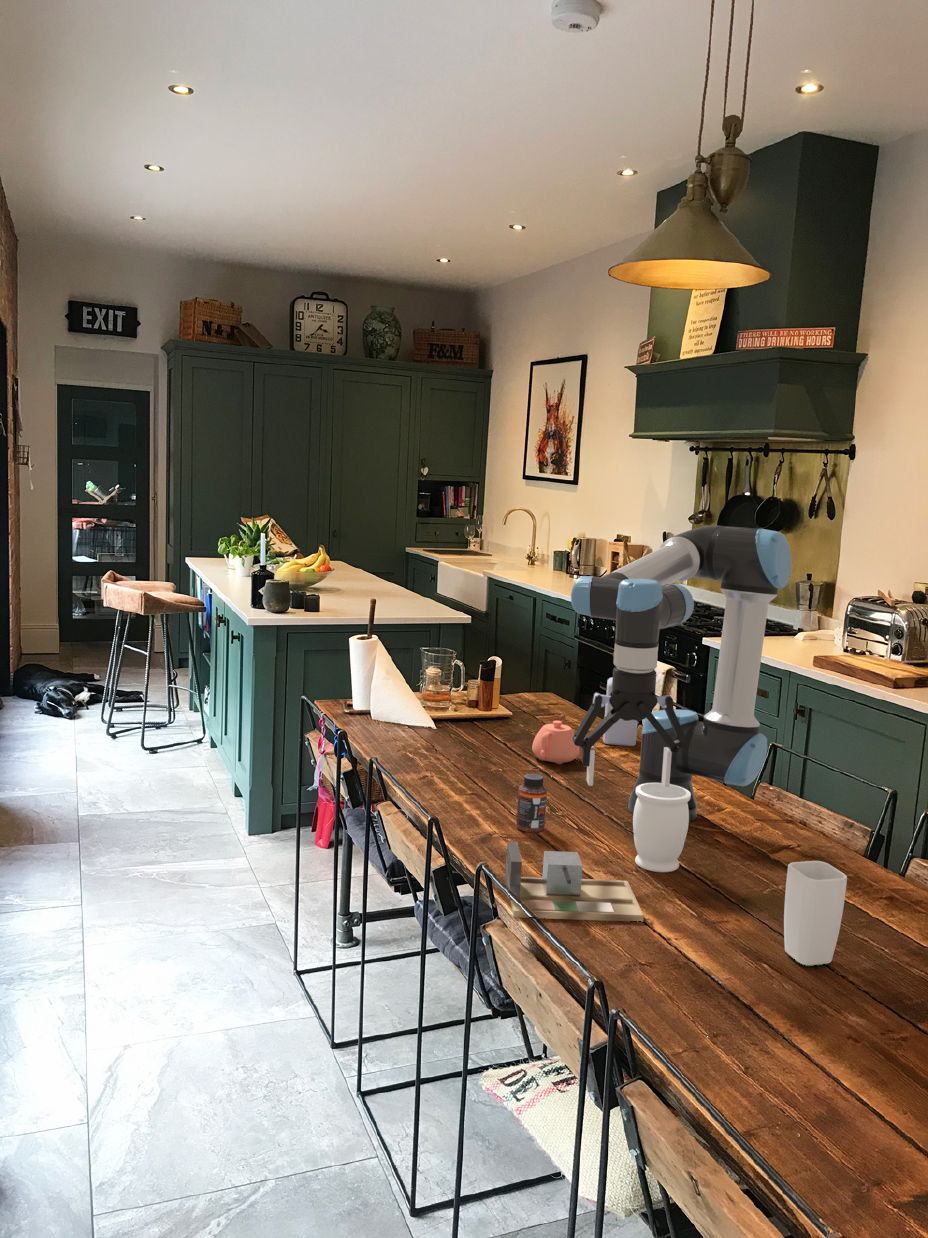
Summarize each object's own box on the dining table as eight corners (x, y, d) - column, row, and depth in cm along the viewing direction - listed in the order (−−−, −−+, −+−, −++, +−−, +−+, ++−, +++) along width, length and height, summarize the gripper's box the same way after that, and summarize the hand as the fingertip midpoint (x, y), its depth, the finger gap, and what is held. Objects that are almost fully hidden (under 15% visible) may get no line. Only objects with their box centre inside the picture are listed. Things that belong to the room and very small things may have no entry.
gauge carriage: (575, 884, 178) (577, 852, 177) (584, 911, 167) (587, 878, 166) (541, 882, 178) (544, 851, 177) (549, 910, 167) (551, 876, 166)
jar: (651, 879, 186) (658, 802, 183) (618, 858, 195) (624, 785, 192) (695, 871, 191) (702, 796, 188) (661, 851, 200) (667, 779, 197)
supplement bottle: (542, 835, 205) (546, 782, 203) (514, 831, 206) (517, 779, 204) (546, 825, 211) (549, 773, 209) (518, 821, 212) (521, 770, 210)
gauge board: (627, 887, 181) (630, 844, 180) (643, 922, 168) (647, 876, 166) (504, 882, 180) (507, 839, 179) (510, 917, 167) (513, 871, 165)
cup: (801, 972, 153) (811, 881, 151) (774, 950, 160) (783, 862, 158) (841, 968, 155) (852, 878, 153) (813, 946, 162) (822, 859, 160)
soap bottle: (603, 736, 284) (609, 650, 280) (634, 739, 283) (641, 652, 279) (603, 744, 275) (609, 655, 271) (635, 747, 274) (643, 658, 270)
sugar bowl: (586, 759, 261) (589, 721, 259) (562, 771, 249) (565, 731, 248) (545, 749, 267) (547, 713, 266) (519, 761, 256) (522, 722, 254)
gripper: (700, 664, 177) (691, 778, 181) (561, 661, 177) (555, 775, 180) (711, 674, 170) (702, 792, 174) (566, 671, 169) (560, 789, 173)
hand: (627, 784), depth 177 cm, fingers open, 13 cm apart
